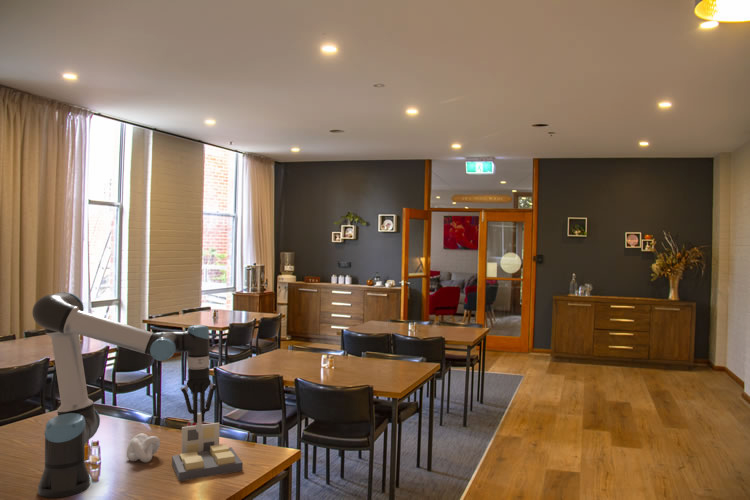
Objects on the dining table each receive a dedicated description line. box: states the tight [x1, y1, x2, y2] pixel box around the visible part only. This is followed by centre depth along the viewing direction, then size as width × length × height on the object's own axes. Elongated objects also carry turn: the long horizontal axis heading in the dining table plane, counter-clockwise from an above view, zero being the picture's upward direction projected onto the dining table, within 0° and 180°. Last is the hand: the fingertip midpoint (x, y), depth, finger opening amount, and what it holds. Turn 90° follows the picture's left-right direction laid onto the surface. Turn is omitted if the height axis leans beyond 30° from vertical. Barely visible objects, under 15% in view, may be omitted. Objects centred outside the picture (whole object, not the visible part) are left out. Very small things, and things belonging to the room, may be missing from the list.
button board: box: [171, 422, 244, 482], centre depth 210 cm, size 22×22×12 cm
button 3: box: [210, 443, 230, 457], centre depth 215 cm, size 6×6×3 cm
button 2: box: [183, 456, 204, 470], centre depth 202 cm, size 6×6×3 cm
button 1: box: [179, 452, 198, 462], centre depth 210 cm, size 6×6×3 cm
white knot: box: [126, 432, 161, 463], centre depth 216 cm, size 11×12×9 cm
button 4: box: [215, 451, 235, 465], centre depth 207 cm, size 6×6×3 cm
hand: (198, 431), depth 209 cm, fingers closed
